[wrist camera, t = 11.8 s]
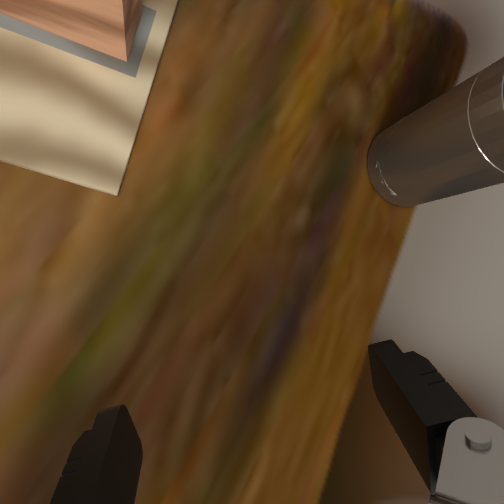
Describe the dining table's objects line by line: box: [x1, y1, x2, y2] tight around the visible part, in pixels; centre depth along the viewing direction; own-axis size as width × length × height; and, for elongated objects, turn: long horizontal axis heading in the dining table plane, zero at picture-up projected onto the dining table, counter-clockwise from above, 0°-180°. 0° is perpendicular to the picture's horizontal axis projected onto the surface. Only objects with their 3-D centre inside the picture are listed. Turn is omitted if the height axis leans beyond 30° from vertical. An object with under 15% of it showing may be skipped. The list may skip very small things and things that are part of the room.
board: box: [0, 0, 179, 197], centre depth 36 cm, size 29×19×1 cm, turn 165°
